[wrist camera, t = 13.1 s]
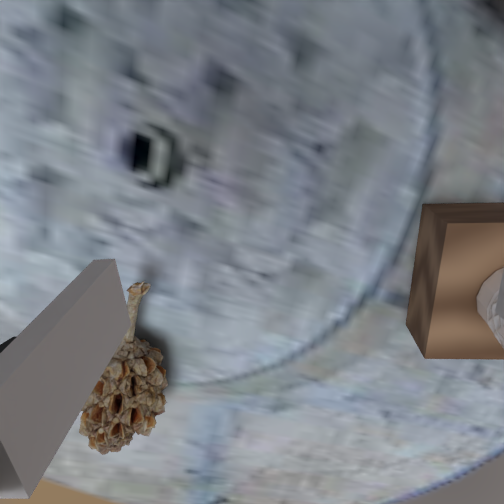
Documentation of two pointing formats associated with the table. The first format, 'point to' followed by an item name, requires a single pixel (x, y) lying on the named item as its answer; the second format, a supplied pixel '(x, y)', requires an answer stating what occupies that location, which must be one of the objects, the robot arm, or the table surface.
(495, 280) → the white cup
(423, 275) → the walnut block
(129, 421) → the pine cone
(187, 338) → the table surface
